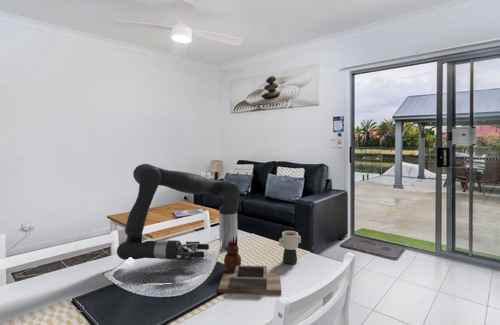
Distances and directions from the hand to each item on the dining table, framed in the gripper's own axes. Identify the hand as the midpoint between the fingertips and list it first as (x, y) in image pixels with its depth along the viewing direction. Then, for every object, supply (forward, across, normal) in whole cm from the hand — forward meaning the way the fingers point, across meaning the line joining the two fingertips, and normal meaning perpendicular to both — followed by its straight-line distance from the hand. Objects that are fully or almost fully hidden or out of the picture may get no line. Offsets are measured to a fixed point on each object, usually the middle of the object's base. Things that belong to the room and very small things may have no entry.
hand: (206, 250), depth 117 cm
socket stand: (+19, -11, +8) cm, 23 cm away
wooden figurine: (+11, 0, +9) cm, 14 cm away
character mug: (+35, +11, +9) cm, 37 cm away
